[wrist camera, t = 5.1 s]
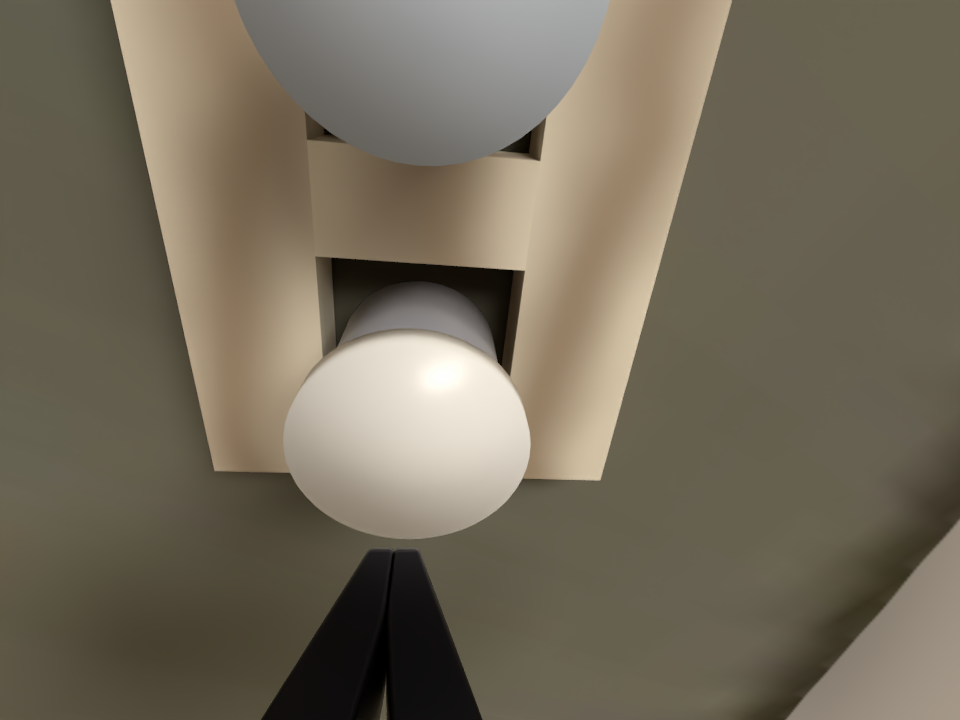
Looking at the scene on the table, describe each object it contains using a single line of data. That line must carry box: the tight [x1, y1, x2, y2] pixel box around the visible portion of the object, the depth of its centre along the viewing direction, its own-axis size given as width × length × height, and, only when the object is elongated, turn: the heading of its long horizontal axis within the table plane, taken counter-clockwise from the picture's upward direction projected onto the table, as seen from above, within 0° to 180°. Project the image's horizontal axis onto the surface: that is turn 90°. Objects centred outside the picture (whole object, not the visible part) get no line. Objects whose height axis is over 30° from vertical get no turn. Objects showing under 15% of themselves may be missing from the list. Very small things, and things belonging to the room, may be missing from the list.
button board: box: [111, 0, 732, 480], centre depth 12 cm, size 14×28×2 cm, turn 175°
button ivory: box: [283, 281, 531, 539], centre depth 13 cm, size 6×6×5 cm
